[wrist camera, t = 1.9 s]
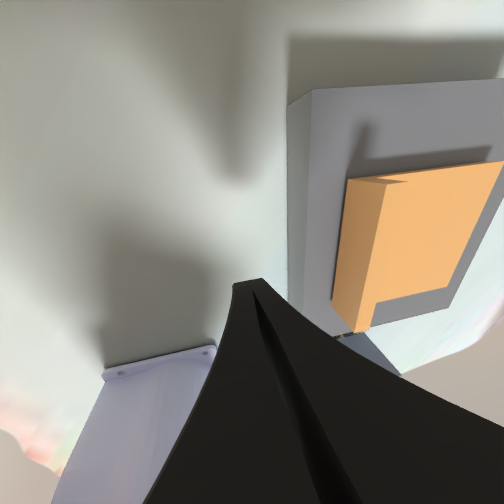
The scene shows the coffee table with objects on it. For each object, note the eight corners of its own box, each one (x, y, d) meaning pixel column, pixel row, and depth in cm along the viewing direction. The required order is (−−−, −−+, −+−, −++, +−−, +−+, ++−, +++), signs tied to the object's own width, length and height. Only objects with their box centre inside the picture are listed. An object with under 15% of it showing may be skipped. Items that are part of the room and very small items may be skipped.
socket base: (288, 316, 18) (301, 344, 15) (286, 106, 11) (312, 89, 8) (416, 288, 20) (448, 307, 17) (489, 92, 12) (564, 74, 10)
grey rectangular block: (321, 361, 22) (351, 415, 17) (324, 334, 20) (359, 387, 15) (352, 353, 23) (389, 403, 18) (358, 326, 21) (402, 375, 16)
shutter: (331, 306, 14) (354, 333, 11) (347, 179, 10) (386, 184, 8) (438, 281, 15) (476, 302, 13) (490, 160, 11) (558, 160, 9)
